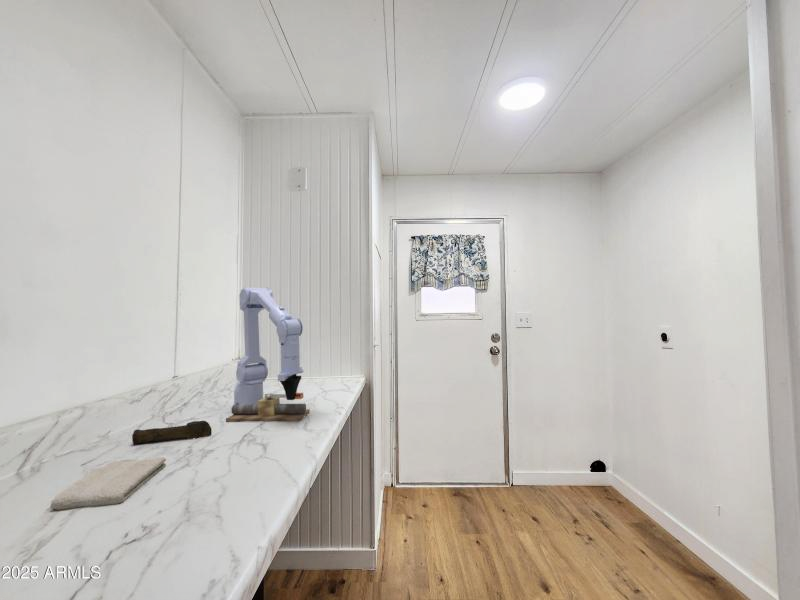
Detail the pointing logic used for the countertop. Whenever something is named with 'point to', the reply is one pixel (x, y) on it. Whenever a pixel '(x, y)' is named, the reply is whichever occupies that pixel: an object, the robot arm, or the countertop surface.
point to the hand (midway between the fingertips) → (291, 399)
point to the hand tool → (173, 432)
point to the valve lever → (283, 396)
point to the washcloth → (109, 484)
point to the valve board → (267, 418)
